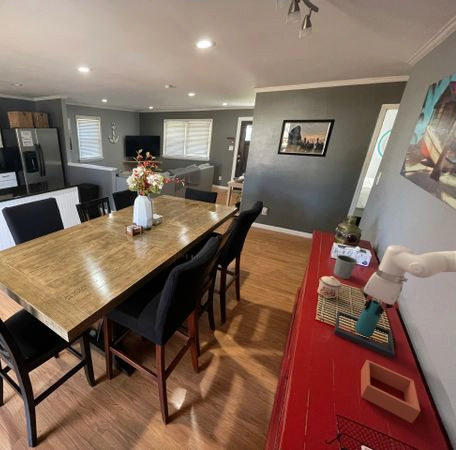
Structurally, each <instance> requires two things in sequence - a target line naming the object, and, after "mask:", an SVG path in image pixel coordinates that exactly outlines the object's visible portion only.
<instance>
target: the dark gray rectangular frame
mask: <svg viewBox="0 0 456 450" xmlns="http://www.w3.org/2000/svg"><path fill="white" fill-rule="evenodd" d="M336 315H337V318H336V317H335V322H336V325H335V324H334V330H335V331H334V330H333V335H335V334H336V335H335V336H338V335H339V336H338V337H340V336H341V337H340V338H342V337H343V339H345V338H346V339H345V340H347V339H348V340H347V341H349V340H351V341H350V342H352V341H353V342H352V343H354V342H355V343H354V344H356V343H358V344H357V345H359V344H360V345H359V346H361V345H362V346H361V347H363V346H364V347H363V348H366V349H368V348H369V349H368V350H370V349H371V350H370V351H373V352H375V353H377V354H380V355H381V356H385V357H387V358H389V359H394V357H395V355H396V353H395V352H396V351H395V347H394V340H393V335H392V330H391V329H387V328H384V327H382V326H380V325H377V326H376V328H375V329H376V330H379V331H381V332H384V333H386V334H388V343H389V344H386V343H380V342H378V341H375V340H373V339H369V338H366V337H363V336H360V335H356V334H353V333H350V332H347V331H345V330H343V329H340V328H338V325H339V316H340V315H342V316H345V317H347V318H350V319H353V320H355V321H358V319H359V317H355V316H353V315H350V314H347V313H345V312H342V311H339V310H337V312H336Z"/></svg>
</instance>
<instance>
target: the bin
mask: <svg viewBox="0 0 456 450" xmlns="http://www.w3.org/2000/svg"><path fill="white" fill-rule="evenodd" d="M371 378H373V379H375V380H377V381H379V382H381V383H383V384H385V385H387V386H389V387H391V388H394V389H396V390H398V391H399V392H402V393H403V398H404V400H403V399H401V398H398V397H396V396H394V395H392V394H390V393H388V392H385V391H384V390H382V389H380V388H377V387H376V386H373V385H371ZM360 397H361V398H362V399H364V400H367V401H368V402H370V403H372V404H374V405H376V406H378V407H379V408H381V409H384V410H385V411H388V412H389V413H391V414H393V415H395V416H397V417H399V418H401V419H403V420H405V421H406V422H408V423H410V424H413V423H414V422H415V420H416V419H417V417H418V416H419V415H420V413H421V408H420V402H419V399H418V395H417V389H416V385H415V381H414V380H413V379H412V378H410V377H407V376H404V375H403V374H401V373H398V372H396V371H393V370H392V369H390V368H387V367H384V366H382V365H380V364H377V363H376V362H373V361H371V360H368V359H366V360H365V362H364V364H363V366H362V368H361V369H360Z"/></svg>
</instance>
